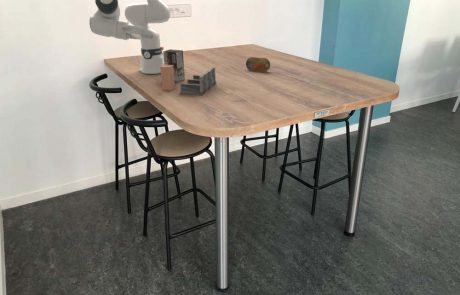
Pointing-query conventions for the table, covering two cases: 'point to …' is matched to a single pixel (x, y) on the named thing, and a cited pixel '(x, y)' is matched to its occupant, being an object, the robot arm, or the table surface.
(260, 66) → the tin
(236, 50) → the table surface
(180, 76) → the coffee box
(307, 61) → the table surface
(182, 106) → the table surface
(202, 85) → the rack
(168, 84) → the tall salmon pillar
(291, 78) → the table surface
